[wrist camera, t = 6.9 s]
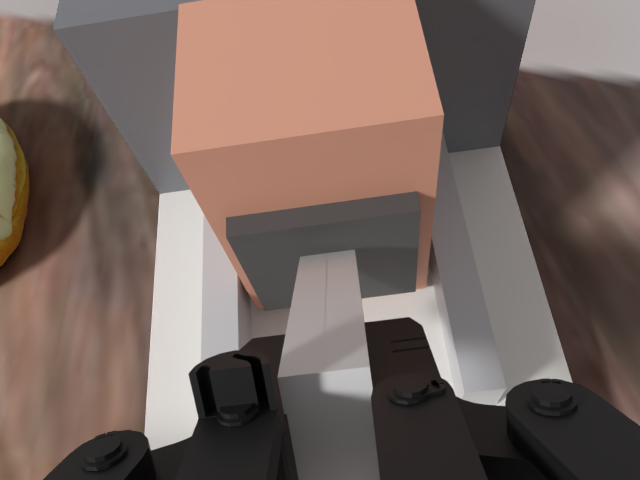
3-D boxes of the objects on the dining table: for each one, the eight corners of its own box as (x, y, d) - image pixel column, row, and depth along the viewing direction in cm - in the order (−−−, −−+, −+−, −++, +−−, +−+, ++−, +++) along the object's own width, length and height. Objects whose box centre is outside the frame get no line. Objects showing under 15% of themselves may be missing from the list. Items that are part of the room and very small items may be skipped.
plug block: (403, 172, 23) (406, -33, 15) (429, 304, 20) (450, 136, 12) (253, 193, 23) (178, 3, 15) (258, 325, 20) (169, 176, 12)
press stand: (478, 114, 26) (519, -112, 17) (593, 504, 18) (777, 450, 9) (174, 158, 27) (67, -36, 18) (155, 548, 19) (-55, 538, 10)
